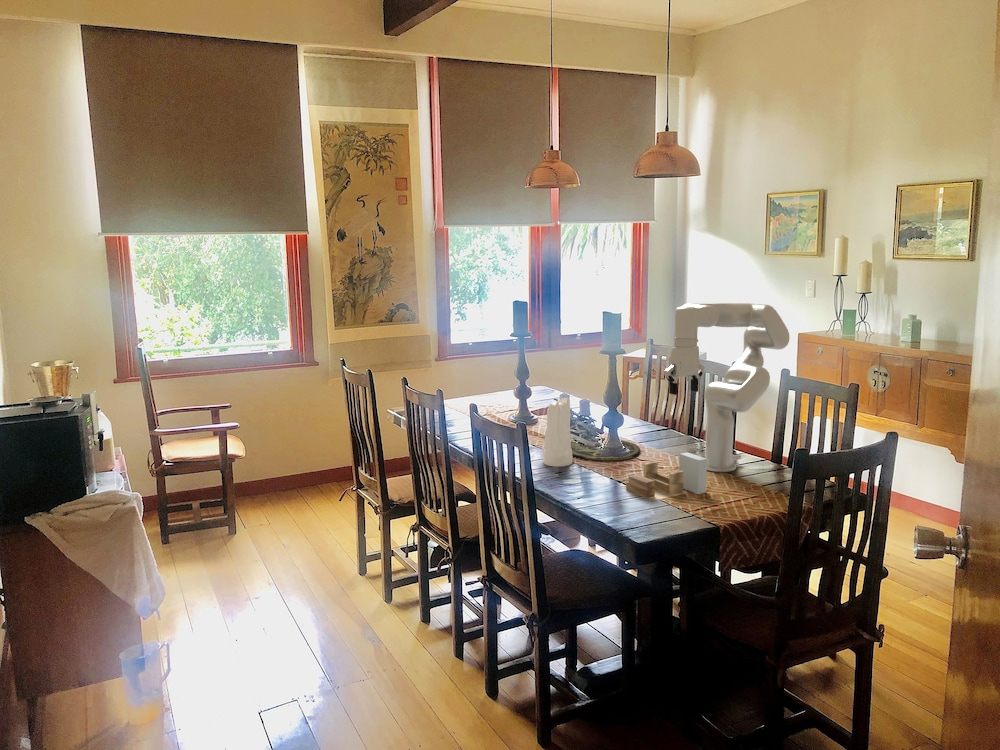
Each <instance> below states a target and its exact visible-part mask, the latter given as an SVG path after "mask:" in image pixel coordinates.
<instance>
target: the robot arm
mask: <svg viewBox="0 0 1000 750" xmlns="http://www.w3.org/2000/svg"><path fill="white" fill-rule="evenodd" d="M674 312H675V315H674V339H673V347H671V351H670V356H669V357H670V358H669V363H668V365H669V366H668V368H665V370H664V371H663V372H664V376H665V378H666V380H667V382H668V383H669V390H668V391H669V394H670V395H673V396H674V395H675V396H676V395H678V383H677V381H678V380H679V379H680V378H686V377H691V379H690V391H691V392H696V393H698V392H699V383H700V380H701V377H702V376H703V372H704V371H705V366H704V365H703V364H701V363H700V354H699V348H698V342H699V339H698V328H700V327H701V328H711V327H717V328H746V329H745V330H744V333H743V350H742V354H741V355H740V356H739V358H738V359H737V360H736V361H735V362H733V364H732V365H731V366H730V367H729V368H728V370H727V371H726V373H725V374H724V379H723V380H724V381H719V380H718V381H712V382H710V383H708V384H707V386H706V388H705V389H704V400H705V401H704V403H705V410H706V427H705V447H704V449H705V450H704V451H705V452H704V458H706V459H707V471H710V472H715V473H717V472H718V473H728V472H734V471H735V470H736V469H737V464H735V461H739V460H741V459H742V455H741V454H733V446H734V430H735V429H734V428H735V421H734V420H735V419H734V415H733V413H732V412H735V413H746V412H748V411H749V410H750V409H751V408H752V407H753V406H754V405H755V404H756V403H757V402H758V401H759V400H760V399H761V397H763V395H764V393H766V391H767V389H768V387H769V385H770V382H771V376H770V372H769V371H768V370H767V368H765V367H763V366H764V363H765V360H764V356H763V354H762V348H763V349H771V350H778V351H779V350H783V349H785V348H786V347H787V346H788V344H789V343H790V338H791V337H790V332H789V330H788V328H787V326H786V324H785V323H784V321H783V319H782V317H781V316H780V314H779V313H778V311H777V310H776V309H775V308H774V307H773V306H771V305H770V304H764V303H763V304H762V303H748V302H746V303H738V302H737V303H734V302H733V303H732V302H731V303H730V302H725V303H721V302H720V303H717V302H716V303H685V304H683V305H682V306H678V307H677V308H676V309H675V311H674Z"/></svg>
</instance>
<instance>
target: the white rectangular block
mask: <svg viewBox="0 0 1000 750" xmlns="http://www.w3.org/2000/svg"><path fill="white" fill-rule="evenodd" d="M678 455H679V457H678V459H679V461H678V471H684V481H683V490H687V491H689V492H692V493H694V494H696V495H700V494H704V493H706V492H707V473H708V472H707V471H708V470H707V459H706V458H705V457H702V456H699V455H696V454H694V453H691V452H683V453H679V454H678Z"/></svg>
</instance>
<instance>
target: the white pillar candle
mask: <svg viewBox="0 0 1000 750" xmlns="http://www.w3.org/2000/svg"><path fill="white" fill-rule="evenodd" d="M571 441H572V434H571V402H570V399H569V396H565V397H561V398H560V399H557V401H555V402H553V403H549V406H548V408H547V410H546V429H545V432H544V448H543V450H542V463H543V464H544V465H546V466H549V467H555V468H556V467H557V468H558V467H567V466H570V465H571V464H573V457H572V449H571Z"/></svg>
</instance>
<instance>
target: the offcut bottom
mask: <svg viewBox="0 0 1000 750" xmlns="http://www.w3.org/2000/svg"><path fill="white" fill-rule="evenodd" d="M625 483H626V484H625V486H626V491H627V492H630V493H632V492H633V494H635V495H637V494H638V495H637V496H640V497H642V498H644V497H645V499H647V498H649V497H654V496H655V489H654V488H653V489H649V490H645V489H642V488H639V487H636V486H633V485H631V484H629V481H626V482H625Z"/></svg>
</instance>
